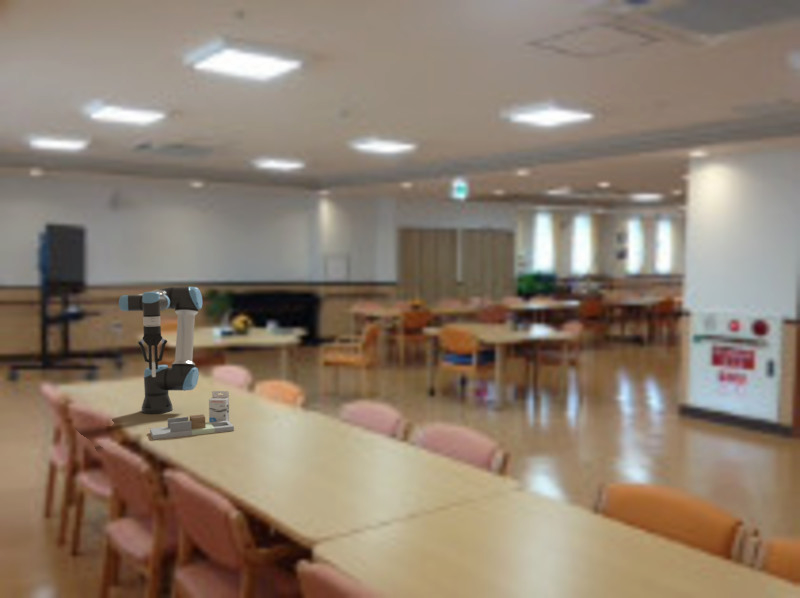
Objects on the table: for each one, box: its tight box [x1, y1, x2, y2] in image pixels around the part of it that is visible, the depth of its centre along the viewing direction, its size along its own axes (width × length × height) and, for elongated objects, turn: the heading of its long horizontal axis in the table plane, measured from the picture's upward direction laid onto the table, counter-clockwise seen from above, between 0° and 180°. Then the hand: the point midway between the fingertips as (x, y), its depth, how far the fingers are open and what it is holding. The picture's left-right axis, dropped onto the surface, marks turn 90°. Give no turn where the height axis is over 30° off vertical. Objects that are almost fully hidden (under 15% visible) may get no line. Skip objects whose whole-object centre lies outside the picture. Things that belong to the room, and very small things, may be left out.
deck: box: [149, 416, 235, 440], centre depth 327 cm, size 13×35×6 cm, turn 115°
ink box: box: [208, 390, 230, 422], centre depth 344 cm, size 9×5×15 cm, turn 84°
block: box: [189, 413, 206, 429], centre depth 328 cm, size 6×6×5 cm
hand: (153, 376), depth 332 cm, fingers closed
